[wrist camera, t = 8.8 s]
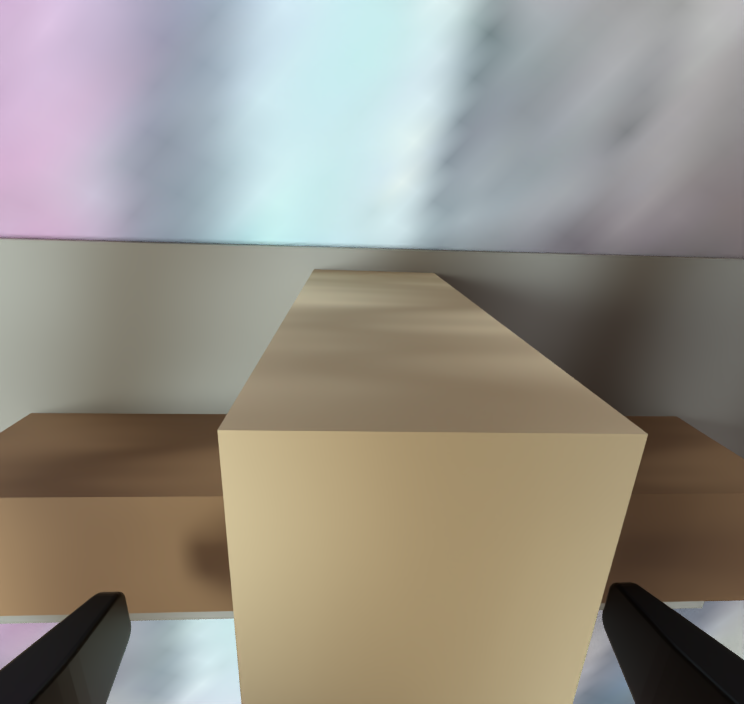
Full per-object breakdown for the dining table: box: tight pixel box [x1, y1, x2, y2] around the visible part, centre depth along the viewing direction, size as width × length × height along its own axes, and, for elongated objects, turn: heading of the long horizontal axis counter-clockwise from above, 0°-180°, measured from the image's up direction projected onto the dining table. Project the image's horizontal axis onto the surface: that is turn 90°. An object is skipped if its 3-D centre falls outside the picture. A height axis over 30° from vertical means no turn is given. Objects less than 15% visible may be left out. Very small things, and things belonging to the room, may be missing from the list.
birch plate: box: [217, 269, 648, 704], centre depth 8 cm, size 3×11×8 cm, turn 178°
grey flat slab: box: [0, 238, 744, 624], centre depth 11 cm, size 24×12×4 cm, turn 88°
